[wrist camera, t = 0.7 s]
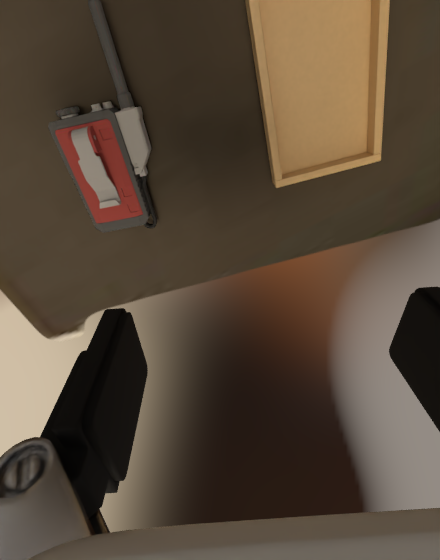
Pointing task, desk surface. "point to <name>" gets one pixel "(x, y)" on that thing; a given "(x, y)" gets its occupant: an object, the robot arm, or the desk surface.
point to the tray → (320, 83)
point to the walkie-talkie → (108, 149)
